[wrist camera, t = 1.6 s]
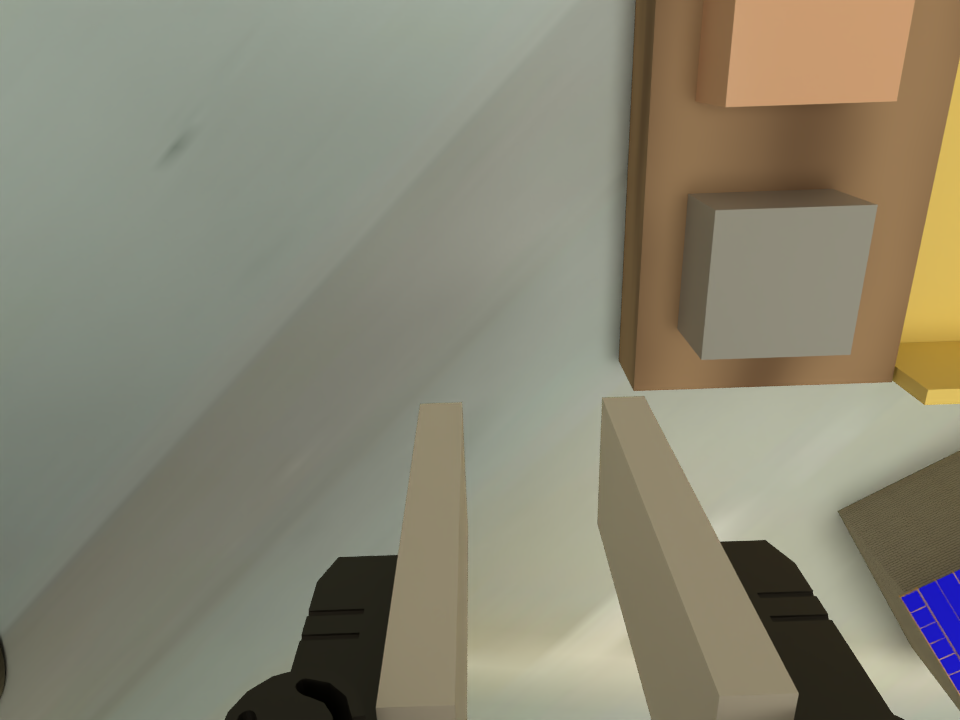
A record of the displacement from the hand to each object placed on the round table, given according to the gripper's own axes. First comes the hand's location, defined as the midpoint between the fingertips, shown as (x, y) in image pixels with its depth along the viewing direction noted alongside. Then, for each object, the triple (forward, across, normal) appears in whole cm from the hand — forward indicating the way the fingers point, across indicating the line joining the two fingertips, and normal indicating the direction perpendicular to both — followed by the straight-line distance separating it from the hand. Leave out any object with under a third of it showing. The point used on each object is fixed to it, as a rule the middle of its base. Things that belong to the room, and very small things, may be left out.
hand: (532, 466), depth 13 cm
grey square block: (+14, +9, 0) cm, 16 cm away
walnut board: (+17, +10, +4) cm, 20 cm away
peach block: (+14, +9, +8) cm, 18 cm away
